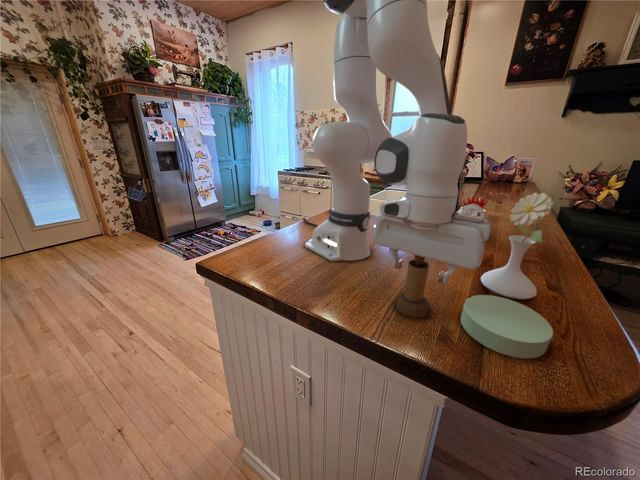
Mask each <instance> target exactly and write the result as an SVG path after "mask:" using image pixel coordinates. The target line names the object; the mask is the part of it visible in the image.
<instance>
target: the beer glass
mask: <svg viewBox="0 0 640 480" xmlns="http://www.w3.org/2000/svg"><path fill="white" fill-rule="evenodd" d="M461 208H462V209H461ZM461 208H460V209H461V212H460V214H466V215H469V216H480V217H483V219H484V218H485V212H486V213H487V211H486V209H484V208H483V209H481V208H476V207H464V206H462V207H461ZM482 223H484V222H482Z"/></svg>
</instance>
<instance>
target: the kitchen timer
mask: <svg viewBox="0 0 640 480" xmlns="http://www.w3.org/2000/svg"><path fill="white" fill-rule="evenodd" d="M484 200H485V196H483V197H482V198H481V200H480V196H479V195H477V197H476V199H475V195H473V196H472V198H471V200H470V197H467V203H466V201H465V200H463V201H462V202H463V207H476V208H481V209H484V207H485V206H486V204H488V202H489V200H486V201H484ZM461 209H462V207H460V208H459V210H458V211H456V213H460V212H461ZM489 219H490V216H489V215H488V214H487V211H486V212H485V218H484V220H486V221H487V222H488V223H489ZM484 224H486V223H484Z"/></svg>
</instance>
